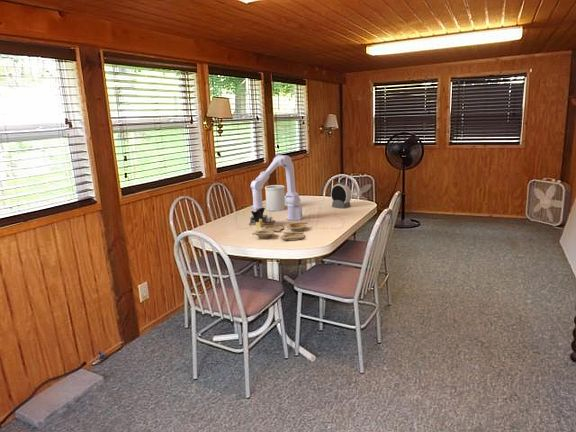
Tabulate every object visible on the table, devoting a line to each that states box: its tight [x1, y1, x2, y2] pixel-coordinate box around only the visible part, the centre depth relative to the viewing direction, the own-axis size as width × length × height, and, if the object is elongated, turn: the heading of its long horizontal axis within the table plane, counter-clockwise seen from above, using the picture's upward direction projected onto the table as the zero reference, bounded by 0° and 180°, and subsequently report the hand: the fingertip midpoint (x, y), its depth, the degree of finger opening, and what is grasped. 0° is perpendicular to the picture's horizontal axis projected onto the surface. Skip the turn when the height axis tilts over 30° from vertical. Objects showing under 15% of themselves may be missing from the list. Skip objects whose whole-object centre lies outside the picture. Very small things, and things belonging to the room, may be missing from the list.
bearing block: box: [262, 214, 268, 223], centre depth 274 cm, size 3×6×4 cm, turn 167°
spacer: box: [255, 219, 263, 228], centre depth 267 cm, size 3×4×4 cm
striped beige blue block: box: [265, 216, 274, 222], centre depth 274 cm, size 7×3×3 cm, turn 77°
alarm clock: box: [330, 182, 352, 209], centre depth 314 cm, size 16×10×18 cm, turn 42°
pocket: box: [249, 215, 256, 223], centre depth 275 cm, size 7×7×4 cm
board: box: [248, 219, 276, 226], centre depth 275 cm, size 15×10×1 cm
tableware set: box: [251, 221, 308, 241], centre depth 249 cm, size 35×29×4 cm
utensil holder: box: [264, 184, 286, 212], centre depth 316 cm, size 15×15×18 cm
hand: (258, 220), depth 267 cm, fingers open, 7 cm apart
